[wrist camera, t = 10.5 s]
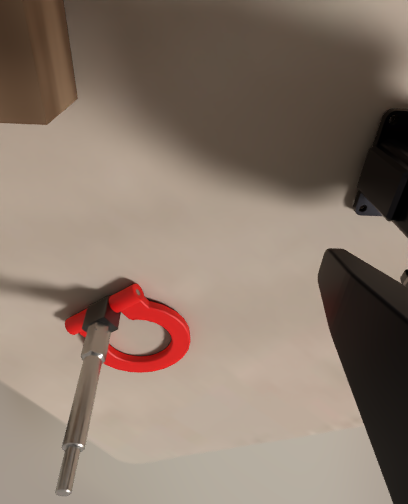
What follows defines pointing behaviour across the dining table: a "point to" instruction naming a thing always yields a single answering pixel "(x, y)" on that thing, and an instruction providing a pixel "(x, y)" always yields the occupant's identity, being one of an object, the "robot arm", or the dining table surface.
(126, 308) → the tow hook
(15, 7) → the hole block
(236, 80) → the dining table surface
